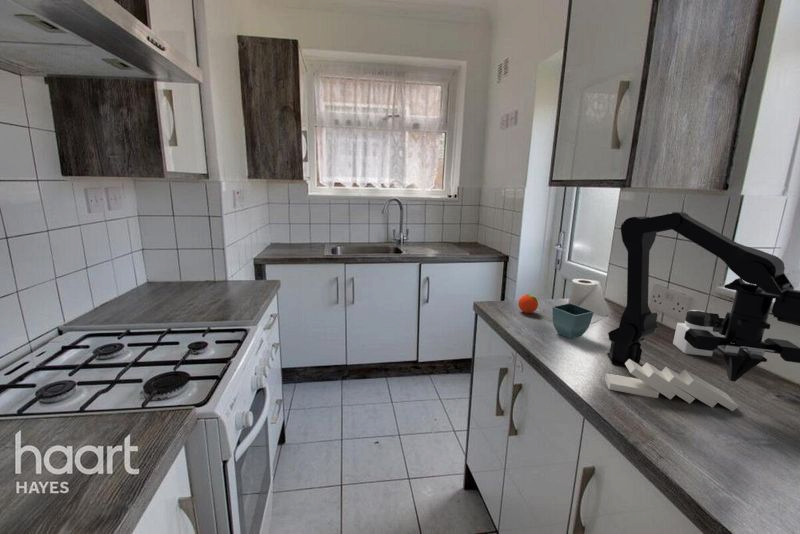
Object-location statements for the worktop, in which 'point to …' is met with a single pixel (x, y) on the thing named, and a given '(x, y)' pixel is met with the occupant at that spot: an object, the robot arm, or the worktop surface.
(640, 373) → the domino
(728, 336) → the robot arm
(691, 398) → the domino
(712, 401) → the domino
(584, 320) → the flower pot
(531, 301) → the clementine
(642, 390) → the domino
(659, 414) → the worktop surface
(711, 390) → the domino
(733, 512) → the worktop surface
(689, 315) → the medicine bottle
